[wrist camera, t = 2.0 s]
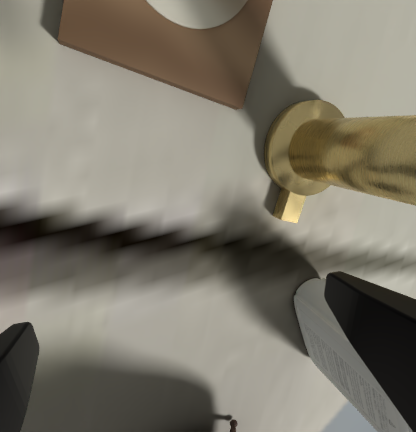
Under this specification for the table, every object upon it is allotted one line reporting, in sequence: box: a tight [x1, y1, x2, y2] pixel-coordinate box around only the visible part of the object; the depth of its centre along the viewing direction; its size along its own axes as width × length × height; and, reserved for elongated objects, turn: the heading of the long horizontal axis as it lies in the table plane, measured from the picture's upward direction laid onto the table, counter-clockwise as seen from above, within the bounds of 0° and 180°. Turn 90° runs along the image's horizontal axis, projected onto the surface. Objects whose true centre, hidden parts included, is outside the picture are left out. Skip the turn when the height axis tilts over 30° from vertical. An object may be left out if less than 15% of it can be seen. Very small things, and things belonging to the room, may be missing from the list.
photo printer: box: [294, 278, 413, 432], centre depth 23 cm, size 10×4×12 cm, turn 19°
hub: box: [264, 100, 416, 223], centre depth 18 cm, size 9×7×12 cm
